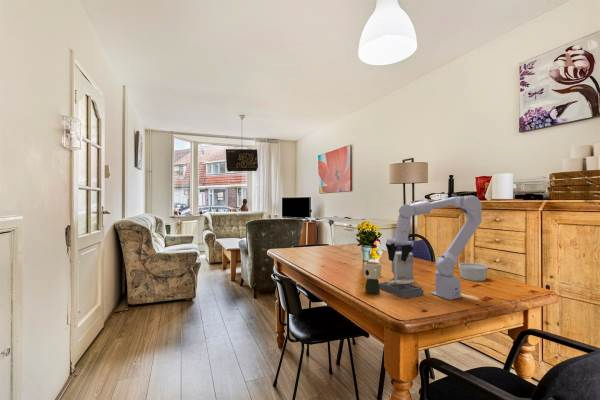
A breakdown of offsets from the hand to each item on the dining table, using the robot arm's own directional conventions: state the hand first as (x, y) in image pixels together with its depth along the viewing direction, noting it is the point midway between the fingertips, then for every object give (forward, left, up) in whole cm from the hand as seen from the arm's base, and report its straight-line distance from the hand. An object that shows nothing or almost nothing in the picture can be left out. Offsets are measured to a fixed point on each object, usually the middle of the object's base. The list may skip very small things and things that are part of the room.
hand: (397, 260), depth 134 cm
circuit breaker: (+10, -13, -14) cm, 22 cm away
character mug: (+3, +12, -14) cm, 18 cm away
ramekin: (-3, -50, -14) cm, 52 cm away
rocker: (-1, 0, -9) cm, 9 cm away
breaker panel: (-1, 0, -14) cm, 14 cm away
